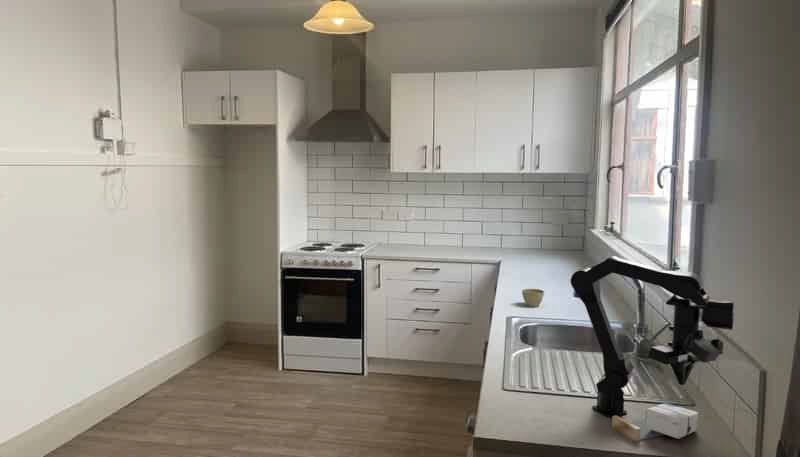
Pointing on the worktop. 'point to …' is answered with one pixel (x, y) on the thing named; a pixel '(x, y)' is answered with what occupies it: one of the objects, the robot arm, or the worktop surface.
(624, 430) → the rail
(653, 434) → the felt mat
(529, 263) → the worktop surface
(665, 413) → the ink box
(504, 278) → the worktop surface
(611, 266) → the robot arm
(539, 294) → the flower pot
